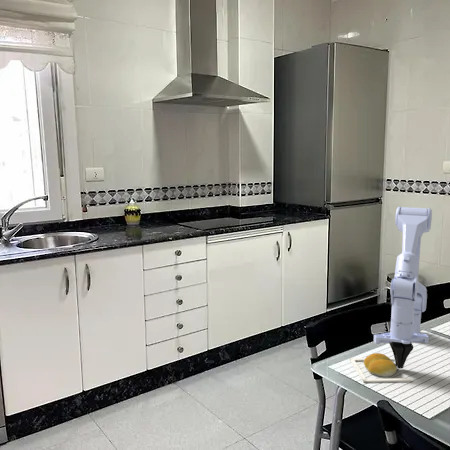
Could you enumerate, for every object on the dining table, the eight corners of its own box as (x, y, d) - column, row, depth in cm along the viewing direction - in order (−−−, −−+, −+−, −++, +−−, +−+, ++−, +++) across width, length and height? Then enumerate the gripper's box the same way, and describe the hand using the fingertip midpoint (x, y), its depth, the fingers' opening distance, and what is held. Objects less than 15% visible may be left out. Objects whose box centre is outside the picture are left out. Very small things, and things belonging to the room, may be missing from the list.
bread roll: (373, 379, 122) (374, 365, 122) (360, 363, 131) (360, 350, 130) (402, 377, 123) (403, 363, 122) (387, 361, 132) (388, 349, 131)
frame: (349, 359, 133) (349, 358, 133) (392, 359, 133) (392, 357, 133) (363, 382, 120) (363, 380, 120) (410, 381, 120) (410, 380, 120)
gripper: (380, 326, 120) (378, 374, 122) (435, 325, 120) (431, 373, 122) (372, 316, 127) (369, 361, 129) (423, 315, 127) (420, 361, 129)
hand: (399, 366), depth 126 cm, fingers closed
